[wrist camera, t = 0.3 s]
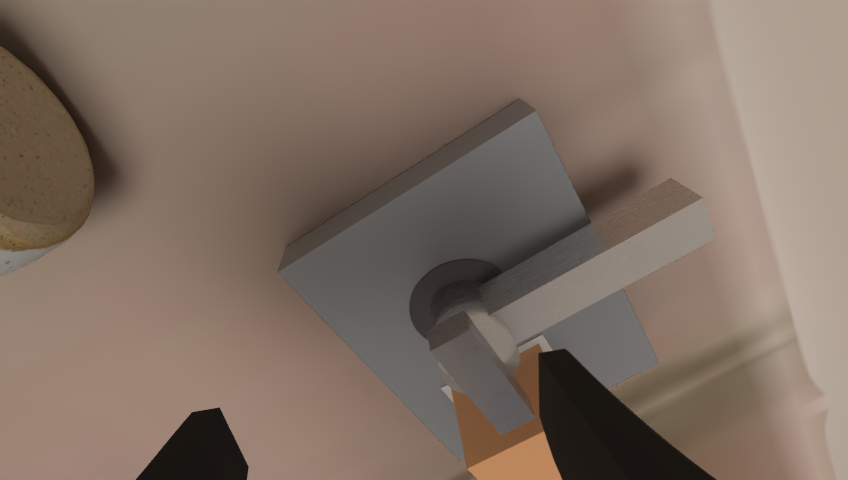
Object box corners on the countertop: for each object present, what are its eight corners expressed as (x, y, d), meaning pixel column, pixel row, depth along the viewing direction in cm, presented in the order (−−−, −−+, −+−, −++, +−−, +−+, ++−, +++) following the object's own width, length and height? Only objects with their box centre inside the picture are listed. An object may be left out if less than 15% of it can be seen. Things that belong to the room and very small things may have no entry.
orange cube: (576, 401, 22) (615, 477, 19) (495, 441, 23) (518, 521, 19) (538, 343, 20) (573, 416, 17) (451, 389, 21) (467, 468, 17)
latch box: (638, 336, 23) (661, 365, 22) (454, 429, 25) (460, 463, 23) (519, 98, 17) (537, 111, 15) (286, 246, 19) (276, 273, 17)
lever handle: (688, 240, 18) (770, 302, 14) (463, 360, 20) (483, 443, 16) (652, 140, 16) (736, 183, 12) (402, 285, 18) (410, 362, 14)
